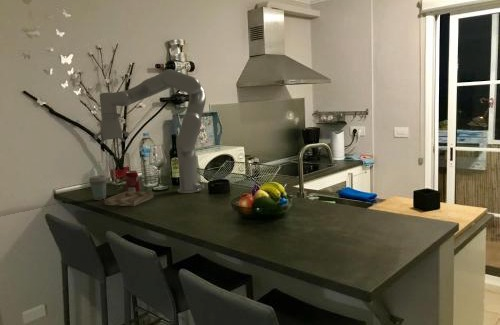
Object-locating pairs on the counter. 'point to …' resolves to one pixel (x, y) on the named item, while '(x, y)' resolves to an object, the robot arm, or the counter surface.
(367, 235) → the counter surface
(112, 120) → the robot arm
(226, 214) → the counter surface
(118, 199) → the tray
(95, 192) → the coffee cup
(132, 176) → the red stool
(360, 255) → the counter surface
